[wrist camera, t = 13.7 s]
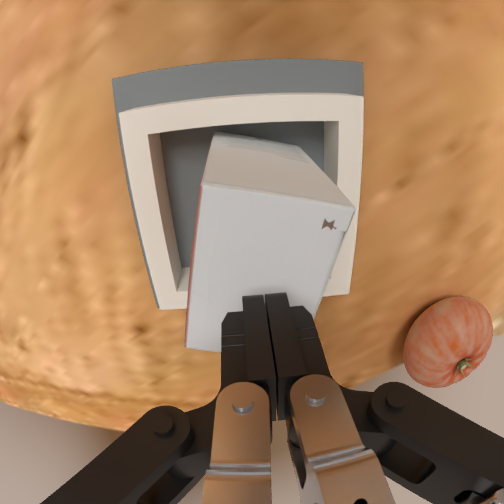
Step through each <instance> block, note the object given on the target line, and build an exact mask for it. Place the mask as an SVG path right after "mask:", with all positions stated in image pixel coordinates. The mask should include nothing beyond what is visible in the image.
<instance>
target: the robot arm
mask: <svg viewBox="0 0 504 504" xmlns="http://www.w3.org/2000/svg"><path fill="white" fill-rule="evenodd" d="M242 304H243V311H237V312H228V313H227V314H226V316H225V318H224V320H223V321H222V323H221V388H220V391H219V393H218V395H217V396H216V398H215V399H214V400H213V401H211V402H210V403H209V404H207V405H205V406H203V407H200V408H197V409H194V410H191V411H188V412H183V411H182V410H180V409H178V408H176V407H173V406H159V407H155V408H153V409H151V410H149V411H148V412H147V413H145V414H144V415H143V416H142V417H141V418H140V419H139V420H138V421H137V422H135V423H134V424H133V425H132V426H131V427H130V428H129V429H128V430H127V431H125V432H124V433H123V434H122V435H121V436H120V437H119V438H118V439H116V440H115V441H114V442H113V443H112V444H111V445H110V446H108V447H107V448H106V449H105V450H104V451H103V452H102V453H100V454H99V455H98V456H97V457H96V458H95V459H94V460H92V461H91V462H90V463H89V464H88V465H86V466H85V467H84V468H83V469H82V470H80V471H79V472H78V473H77V474H76V475H75V476H74V477H72V478H71V479H70V480H69V481H67V482H66V483H65V484H64V485H62V486H61V487H60V488H59V489H58V490H56V491H55V492H54V493H53V494H51V495H50V496H49V497H48V498H47V499H46V500H44V501H43V502H42V503H40V504H177V503H178V502H179V501H180V500H181V499H182V498H183V497H184V496H185V495H186V494H187V493H188V492H189V491H190V490H191V489H192V488H193V487H194V486H195V485H196V484H197V483H198V481H199V480H200V479H201V478H202V477H203V476H204V475H205V477H204V484H203V495H202V504H272V499H271V498H272V493H271V452H270V451H271V450H270V445H271V442H272V421H276V409H277V416H278V420H286V426H287V443H288V447H289V451H290V455H291V458H292V463H293V467H294V471H295V475H296V479H297V483H298V487H299V492H300V502H301V504H395V501H394V498H393V496H392V493H391V491H390V488H389V485H388V483H387V480H386V478H385V476H387V477H388V478H390V479H392V480H393V481H395V482H396V483H398V484H400V485H402V486H403V487H405V488H406V489H408V490H410V491H412V492H413V493H415V494H417V495H418V496H420V497H422V498H424V499H426V500H427V501H429V502H431V503H433V504H504V438H503V437H501V436H499V435H497V434H495V433H493V432H491V431H489V430H487V429H486V428H484V427H482V426H480V425H478V424H476V423H474V422H472V421H471V420H469V419H467V418H465V417H463V416H461V415H459V414H458V413H456V412H454V411H452V410H450V409H448V408H447V407H445V406H443V405H441V404H440V403H438V402H436V401H434V400H432V399H431V398H429V397H427V396H425V395H423V394H422V393H420V392H418V391H416V390H415V389H413V388H411V387H409V386H407V385H405V384H403V383H399V382H389V383H385V384H383V385H381V386H379V387H378V388H377V389H376V390H375V391H374V392H366V391H355V390H350V389H347V388H344V387H342V386H341V385H339V384H338V383H337V382H335V380H334V379H333V378H332V376H331V375H330V372H329V369H328V366H327V362H326V359H325V356H324V352H323V349H322V346H321V342H320V339H319V337H318V333H317V330H316V326H315V323H314V320H313V317H312V314H311V313H310V312H309V311H308V310H307V309H306V308H305V307H304V306H303V305H302V306H292V307H290V305H289V301H288V297H287V293H286V292H282V293H271V294H265V302H264V296H263V294H261V295H249V296H242Z"/></svg>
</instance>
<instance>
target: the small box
mask: <svg viewBox="0 0 504 504" xmlns="http://www.w3.org/2000/svg"><path fill="white" fill-rule="evenodd" d="M355 211H356V208H355V206H354V205H353V204H352V203H351V201H350V200H349V199H348V198H347V197H346V196H345V195H344V194H343V192H342V191H341V190H340V189H339V188H338V187H337V186H336V185H335V184H334V183H333V181H332V180H331V179H330V178H329V177H328V176H327V175H326V174H325V173H324V172H323V171H322V170H321V169H320V168H319V167H318V166H317V165H316V163H315V162H314V161H313V160H312V159H311V158H310V157H309V156H308V155H307V154H306V153H305V152H304V151H303V150H302V149H301V148H300V147H299V146H297V145H292V144H287V143H282V142H277V141H272V140H266V139H261V138H255V137H249V136H243V135H237V134H231V133H224V132H217V131H215V132H214V134H213V138H212V142H211V145H210V149H209V153H208V157H207V161H206V166H205V170H204V173H203V177H202V181H201V184H200V191H199V199H198V206H197V214H196V221H195V229H194V237H193V245H192V253H191V262H190V273H189V285H188V298H187V312H186V330H185V347H186V348H190V349H197V350H204V351H213V352H221V323H222V321H223V320H224V318H225V316H226V314H227V313H228V312H237V311H243V304H242V296H249V295H261V294H263V296H264V302H265V294H271V293H282V292H286V293H287V297H288V301H289V305H290V307H292V306H302V305H303V306H304V307H305V308H306V309H307V310H308V311H309V312H310V313H311V314H312V317H313V320H314V318H315V315H316V312H317V310H318V307H319V305H320V302H321V299H322V297H323V294H324V292H325V289H326V286H327V284H328V281H329V278H330V276H331V273H332V270H333V267H334V265H335V262H336V259H337V257H338V254H339V252H340V249H341V246H342V244H343V241H344V238H345V236H346V233H347V231H348V229H349V227H350V224H351V221H352V219H353V216H354V214H355Z"/></svg>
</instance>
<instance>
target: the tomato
mask: <svg viewBox="0 0 504 504" xmlns="http://www.w3.org/2000/svg"><path fill="white" fill-rule="evenodd" d="M492 336H493V325H492V320H491V317H490V314H489V313H488V311H487V309H486V308H485V307H484V306H483V305H482V304H480V303H479V302H478V301H476V300H474V299H472V298H469V297H465V296H454V297H449V298H445V299H443V300H440V301H438V302H436V303H435V304H433V305H431V306H430V307H429V308H427V309H426V310H425V311H424V312H423V313H422V314H421V315H420V316H419V317H418V318H417V319H416V320H415V322H414V323H413V325H412V326H411V328H410V330H409V332H408V334H407V337H406V340H405V343H404V349H403V358H404V364H405V367H406V370H407V372H408V373H409V375H410V376H411V377H412V378H413V379H414V380H415V381H416V382H418V383H420V384H422V385H425V386H427V387H433V388H440V387H446V386H449V385H451V384H453V383H456V382H458V381H460V380H462V379H464V378H465V377H467V376H468V375H469V374H470V373H471V372H472V371H473V370H475V369H476V368H477V367H478V366H479V365H480V363H481V362H482V361H483V359H484V358H485V356H486V354H487V351H488V350H489V348H490V345H491V341H492Z"/></svg>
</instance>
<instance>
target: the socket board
mask: <svg viewBox="0 0 504 504" xmlns="http://www.w3.org/2000/svg"><path fill="white" fill-rule="evenodd" d="M112 84H113V93H114V101H115V109H116V117H117V124H118V131H119V137H120V144H121V150H122V156H123V162H124V168H125V173H126V178H127V184H128V189H129V194H130V199H131V204H132V208H133V213H134V218H135V222H136V227H137V231H138V235H139V240H140V244H141V248H142V252H143V256H144V260H145V264H146V268H147V271H148V275H149V279H150V283H151V286H152V290H153V294H154V297H155V301H156V304H157V307H158V308H160V310H167V309H185V308H187V298H188V285H189V273H190V262H191V253H192V245H193V237H194V229H195V221H196V214H197V206H198V199H199V191H200V184H201V181H202V177H203V173H204V170H205V166H206V161H207V157H208V153H209V149H210V145H211V142H212V138H213V134H214V132H215V131H217V132H224V133H231V134H237V135H243V136H249V137H255V138H261V139H266V140H272V141H277V142H282V143H287V144H292V145H297V146H299V147H300V148H301V149H302V150H303V151H304V152H305V153H306V154H307V155H308V156H309V157H310V158H311V159H312V160H313V161H314V162H315V163H316V165H317V166H318V167H319V168H320V169H321V170H322V171H323V172H324V173H325V174H326V175H327V176H328V177H329V178H330V179H331V180H332V181H333V183H334V184H335V185H336V186H337V187H338V188H339V189H340V190H341V191H342V192H343V194H344V195H345V196H346V197H347V198H348V199H349V200H350V201H351V203H352V204H353V205H354V206H355V208H356V211H355V214H354V216H353V219H352V221H351V224H350V227H349V229H348V231H347V233H346V236H345V238H344V241H343V244H342V246H341V249H340V252H339V254H338V257H337V259H336V262H335V265H334V267H333V270H332V273H331V276H330V278H329V281H328V284H327V286H326V289H325V292H324V294H323V297H325V296H334V295H343V294H349V290H350V282H351V275H352V267H353V259H354V251H355V242H356V233H357V223H358V212H359V200H360V186H361V170H362V150H363V113H364V96H363V62H353V61H340V60H322V59H254V60H236V61H223V62H212V63H202V64H194V65H186V66H179V67H172V68H165V69H159V70H154V71H148V72H143V73H138V74H133V75H128V76H123V77H119V78H115V79H112Z"/></svg>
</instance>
